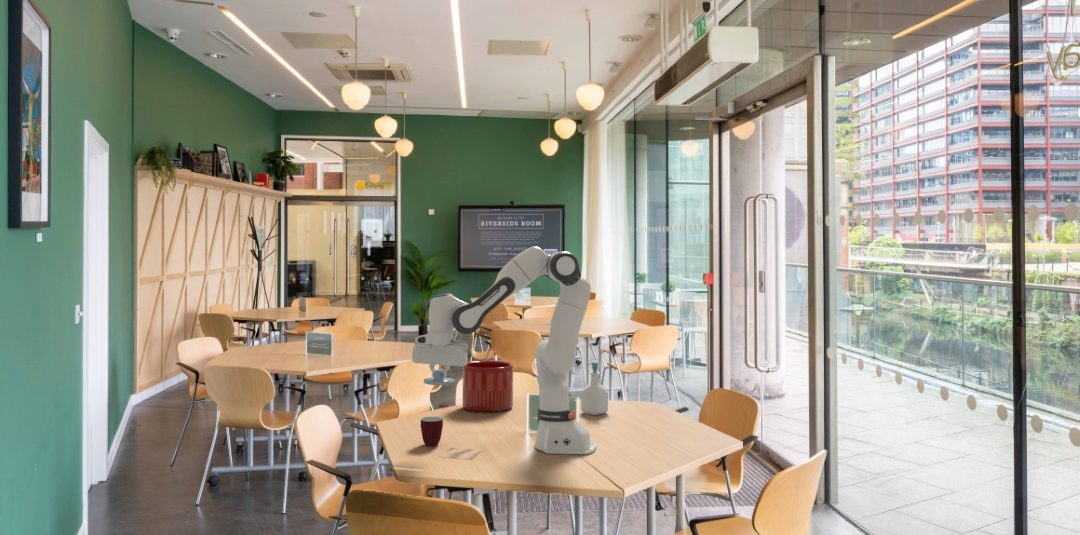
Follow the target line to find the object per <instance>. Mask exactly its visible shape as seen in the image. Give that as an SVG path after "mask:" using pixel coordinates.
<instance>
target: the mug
mask: <svg viewBox="0 0 1080 535" xmlns="http://www.w3.org/2000/svg"><path fill="white" fill-rule="evenodd" d="M443 427H444V418H442V417H440V416H425V417H422V418H420V430H421V437H422V441H423V443H424V445H425V446H426V447H436V446H439V443H440V442H441V439H442V433H443Z"/></svg>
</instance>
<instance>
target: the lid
mask: <svg viewBox="0 0 1080 535" xmlns="http://www.w3.org/2000/svg"><path fill="white" fill-rule="evenodd" d="M445 369H446V368H438V369H435V371H434V377H432V376H431V377H426V378H424V379H423V384H425V385H430V386H448V385H449V386H450V385H454V384H455V382H456V380H455V379H454V378H452V377H446V378H442V377H441V373H442V372H444V371H445Z"/></svg>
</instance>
